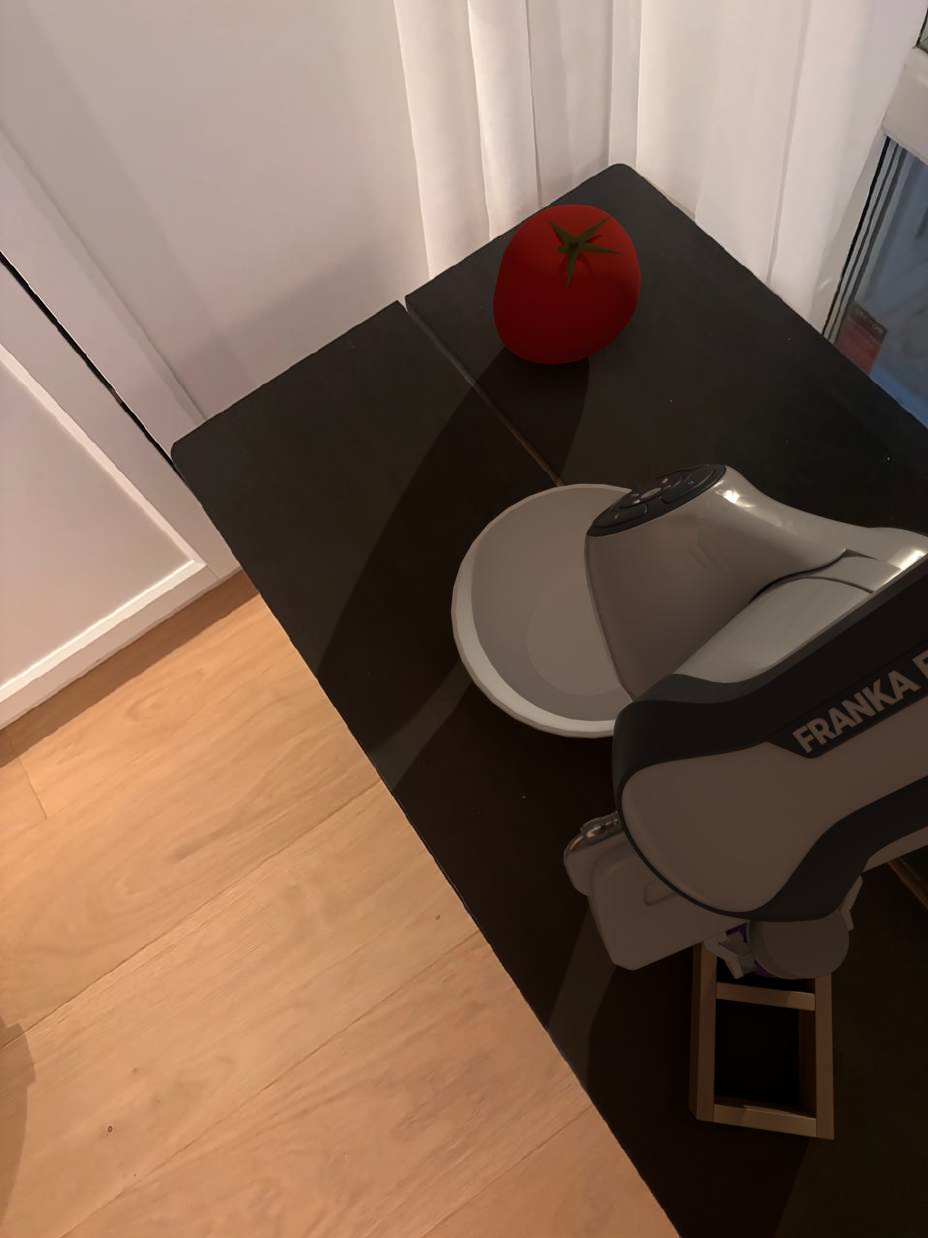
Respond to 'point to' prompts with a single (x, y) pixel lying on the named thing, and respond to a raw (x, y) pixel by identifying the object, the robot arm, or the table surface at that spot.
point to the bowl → (538, 615)
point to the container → (797, 946)
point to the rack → (813, 1053)
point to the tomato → (565, 285)
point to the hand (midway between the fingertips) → (789, 946)
